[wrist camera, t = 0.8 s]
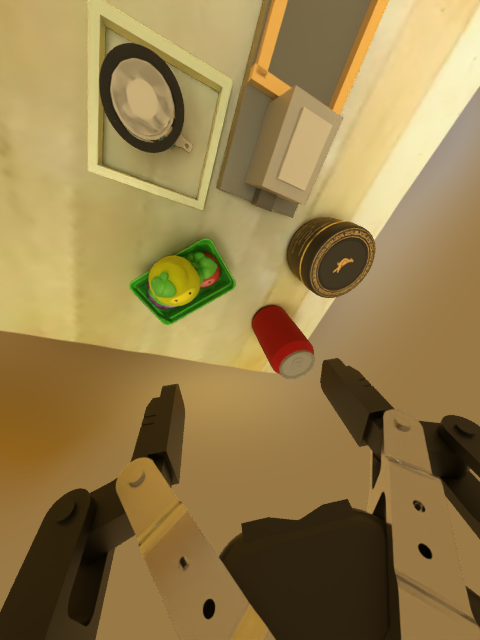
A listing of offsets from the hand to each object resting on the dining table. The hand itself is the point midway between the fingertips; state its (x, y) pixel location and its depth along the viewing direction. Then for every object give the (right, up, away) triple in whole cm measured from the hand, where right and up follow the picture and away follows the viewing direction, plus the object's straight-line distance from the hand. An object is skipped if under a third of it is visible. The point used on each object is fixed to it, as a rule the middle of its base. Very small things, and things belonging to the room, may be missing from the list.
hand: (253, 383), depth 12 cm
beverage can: (+4, +4, +28) cm, 29 cm away
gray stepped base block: (+4, +27, +12) cm, 30 cm away
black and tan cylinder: (-9, +23, +11) cm, 27 cm away
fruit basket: (-9, +11, +19) cm, 24 cm away
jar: (+11, +15, +23) cm, 29 cm away
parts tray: (-9, +23, +10) cm, 27 cm away
